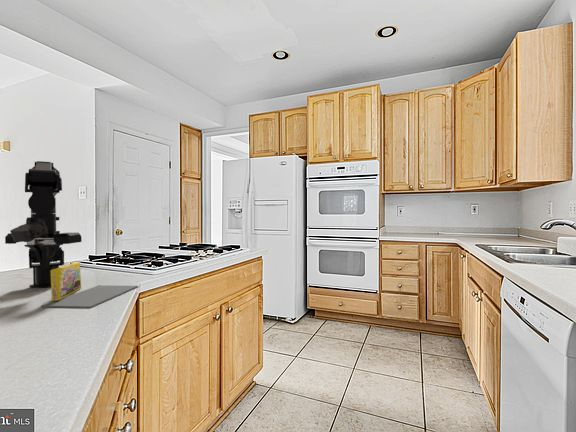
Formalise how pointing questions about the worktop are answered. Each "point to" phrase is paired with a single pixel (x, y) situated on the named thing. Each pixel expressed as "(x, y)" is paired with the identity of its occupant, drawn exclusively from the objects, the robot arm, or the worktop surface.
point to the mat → (90, 297)
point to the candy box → (65, 281)
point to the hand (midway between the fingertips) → (44, 268)
